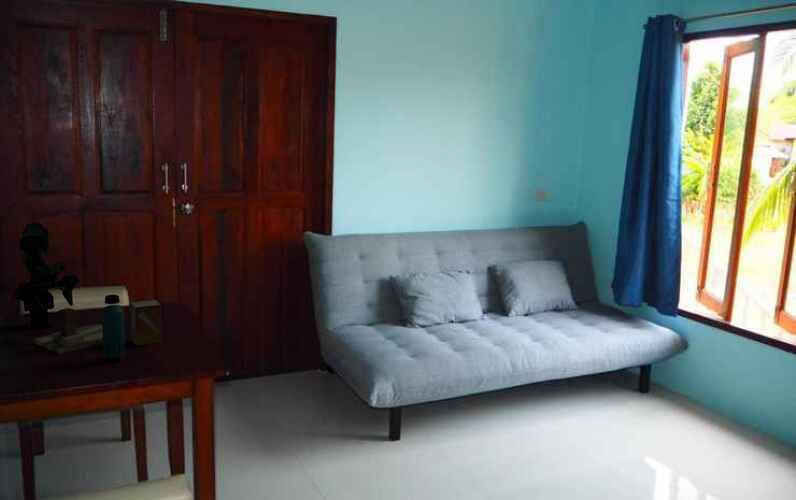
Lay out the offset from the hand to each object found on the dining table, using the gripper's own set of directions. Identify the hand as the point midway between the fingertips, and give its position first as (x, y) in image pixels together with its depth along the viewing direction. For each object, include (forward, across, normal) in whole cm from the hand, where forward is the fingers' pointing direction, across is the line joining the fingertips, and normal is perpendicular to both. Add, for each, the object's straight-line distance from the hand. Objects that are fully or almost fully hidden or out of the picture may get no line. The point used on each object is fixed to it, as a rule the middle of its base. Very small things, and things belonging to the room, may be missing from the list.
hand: (58, 308), depth 219 cm
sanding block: (+11, 0, +4) cm, 11 cm away
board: (+9, +6, +8) cm, 13 cm away
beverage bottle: (+26, +3, -9) cm, 28 cm away
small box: (+21, +19, -4) cm, 29 cm away
